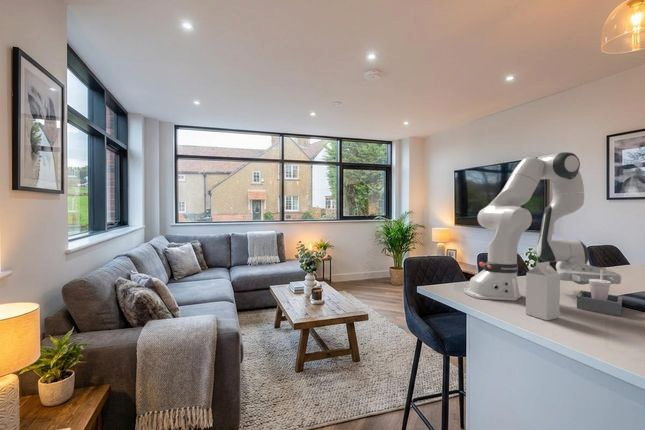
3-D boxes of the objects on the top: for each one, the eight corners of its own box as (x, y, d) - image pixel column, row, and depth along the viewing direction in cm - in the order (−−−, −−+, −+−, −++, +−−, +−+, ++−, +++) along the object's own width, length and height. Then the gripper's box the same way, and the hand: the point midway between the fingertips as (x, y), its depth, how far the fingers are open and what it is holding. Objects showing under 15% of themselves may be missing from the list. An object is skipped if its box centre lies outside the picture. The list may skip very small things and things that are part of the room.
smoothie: (615, 309, 112) (616, 271, 112) (595, 308, 114) (596, 270, 113) (602, 304, 119) (603, 268, 118) (583, 303, 120) (584, 267, 120)
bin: (620, 316, 108) (620, 303, 108) (576, 308, 116) (576, 296, 116) (621, 308, 116) (622, 296, 116) (580, 301, 125) (580, 290, 124)
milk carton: (525, 314, 109) (526, 261, 109) (538, 311, 112) (538, 260, 112) (546, 321, 103) (547, 265, 102) (559, 318, 106) (560, 263, 105)
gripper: (551, 264, 134) (564, 270, 121) (609, 267, 128) (630, 274, 115) (551, 279, 134) (564, 286, 121) (609, 282, 128) (629, 291, 115)
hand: (596, 280), depth 118 cm, fingers open, 8 cm apart
